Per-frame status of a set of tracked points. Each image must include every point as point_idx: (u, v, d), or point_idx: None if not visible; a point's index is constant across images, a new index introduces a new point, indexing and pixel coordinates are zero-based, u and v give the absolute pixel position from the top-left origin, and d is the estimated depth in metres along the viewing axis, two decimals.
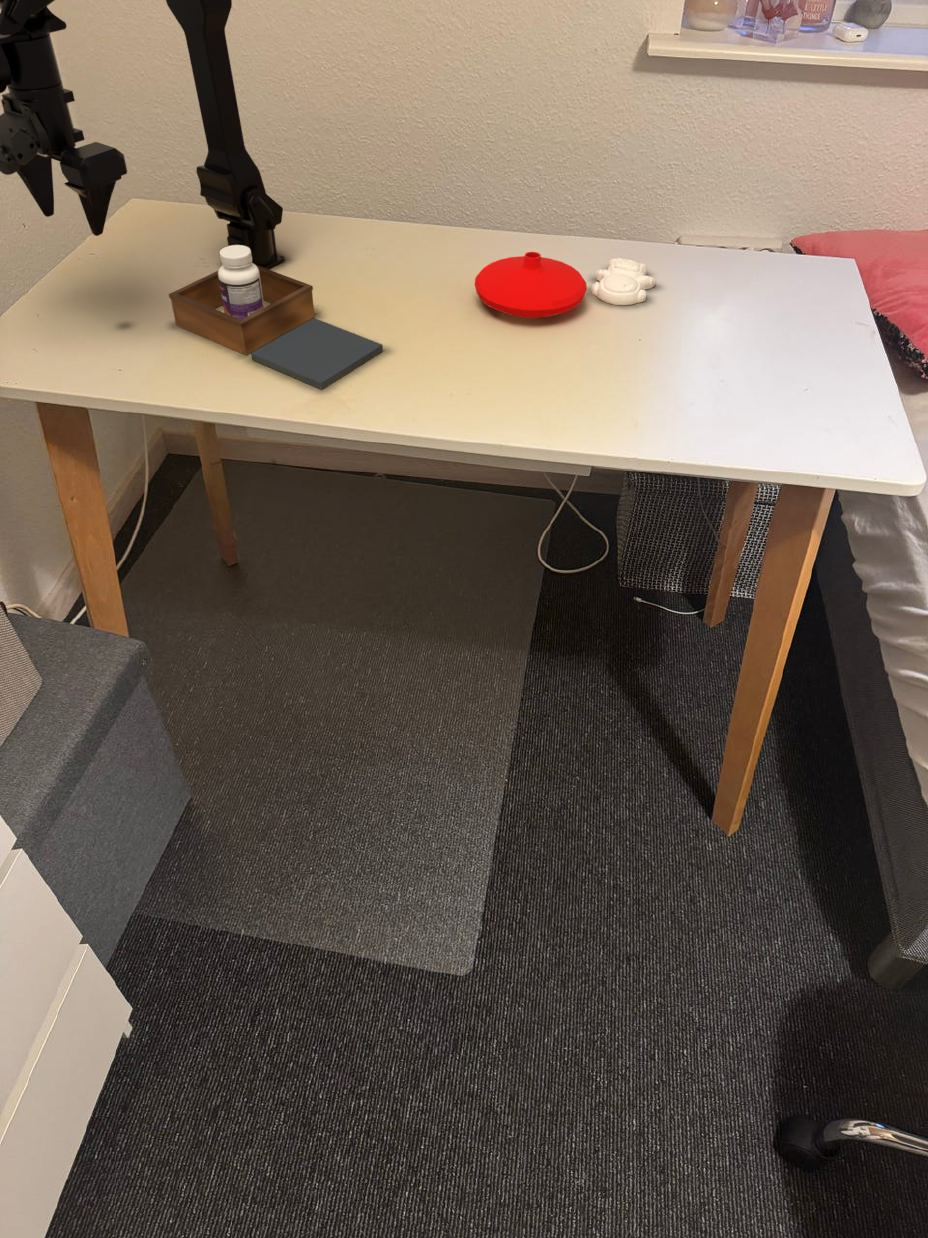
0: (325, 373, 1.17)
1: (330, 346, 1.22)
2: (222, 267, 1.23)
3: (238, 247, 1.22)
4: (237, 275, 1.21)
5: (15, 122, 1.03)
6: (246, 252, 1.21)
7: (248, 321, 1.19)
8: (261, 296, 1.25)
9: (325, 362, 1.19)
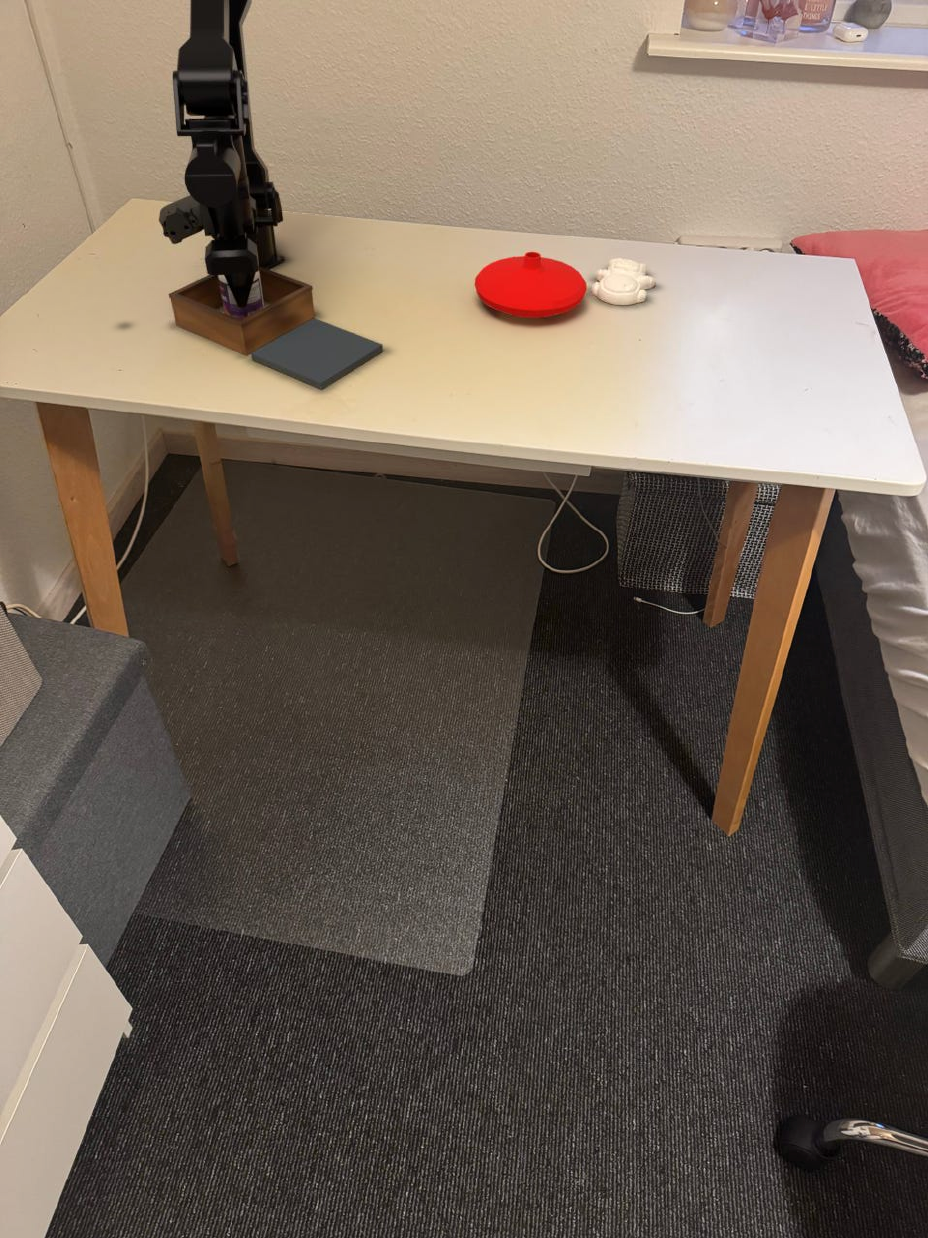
0: (325, 373, 1.17)
1: (330, 346, 1.22)
2: None
3: None
4: None
5: (192, 204, 1.16)
6: None
7: (248, 321, 1.19)
8: (261, 296, 1.25)
9: (325, 362, 1.19)
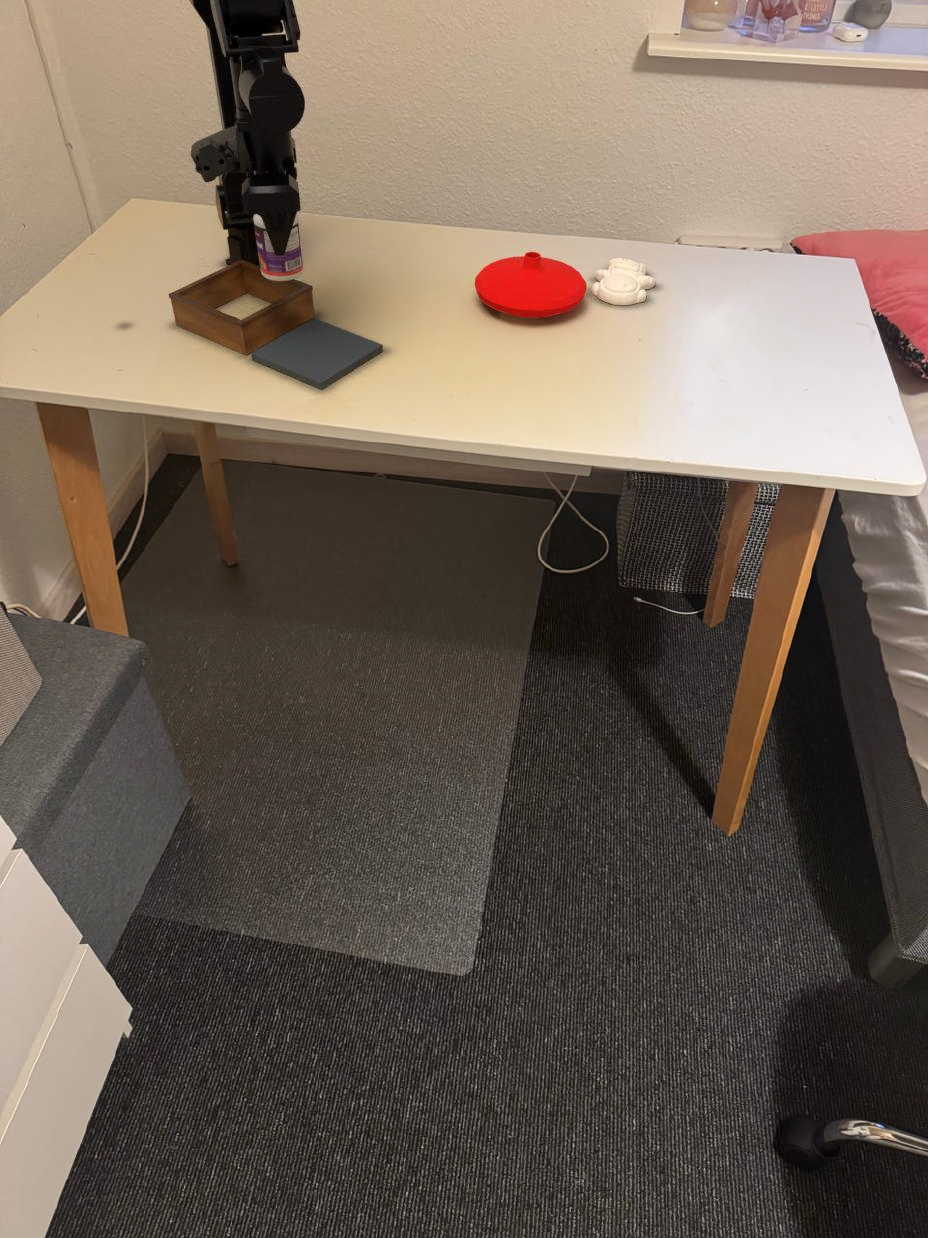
0: (325, 373, 1.17)
1: (330, 346, 1.22)
2: None
3: None
4: None
5: (227, 136, 1.05)
6: None
7: (248, 321, 1.19)
8: (300, 244, 1.14)
9: (325, 362, 1.19)
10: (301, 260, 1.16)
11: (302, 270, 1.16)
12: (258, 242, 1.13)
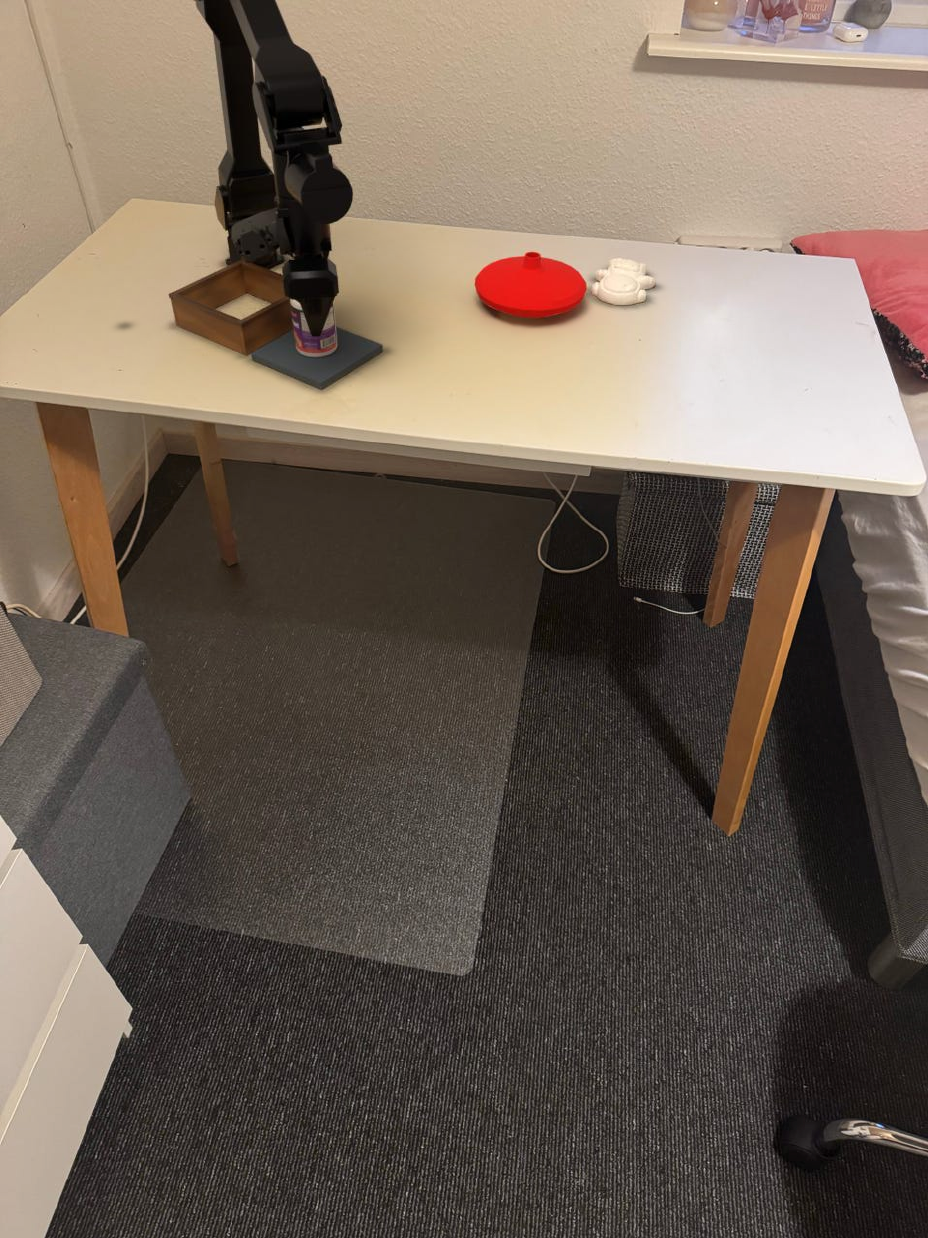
0: (325, 373, 1.17)
1: None
2: None
3: None
4: None
5: (267, 221, 1.08)
6: None
7: (248, 321, 1.19)
8: (334, 322, 1.19)
9: (325, 362, 1.19)
10: (335, 337, 1.20)
11: (335, 346, 1.21)
12: (294, 321, 1.17)
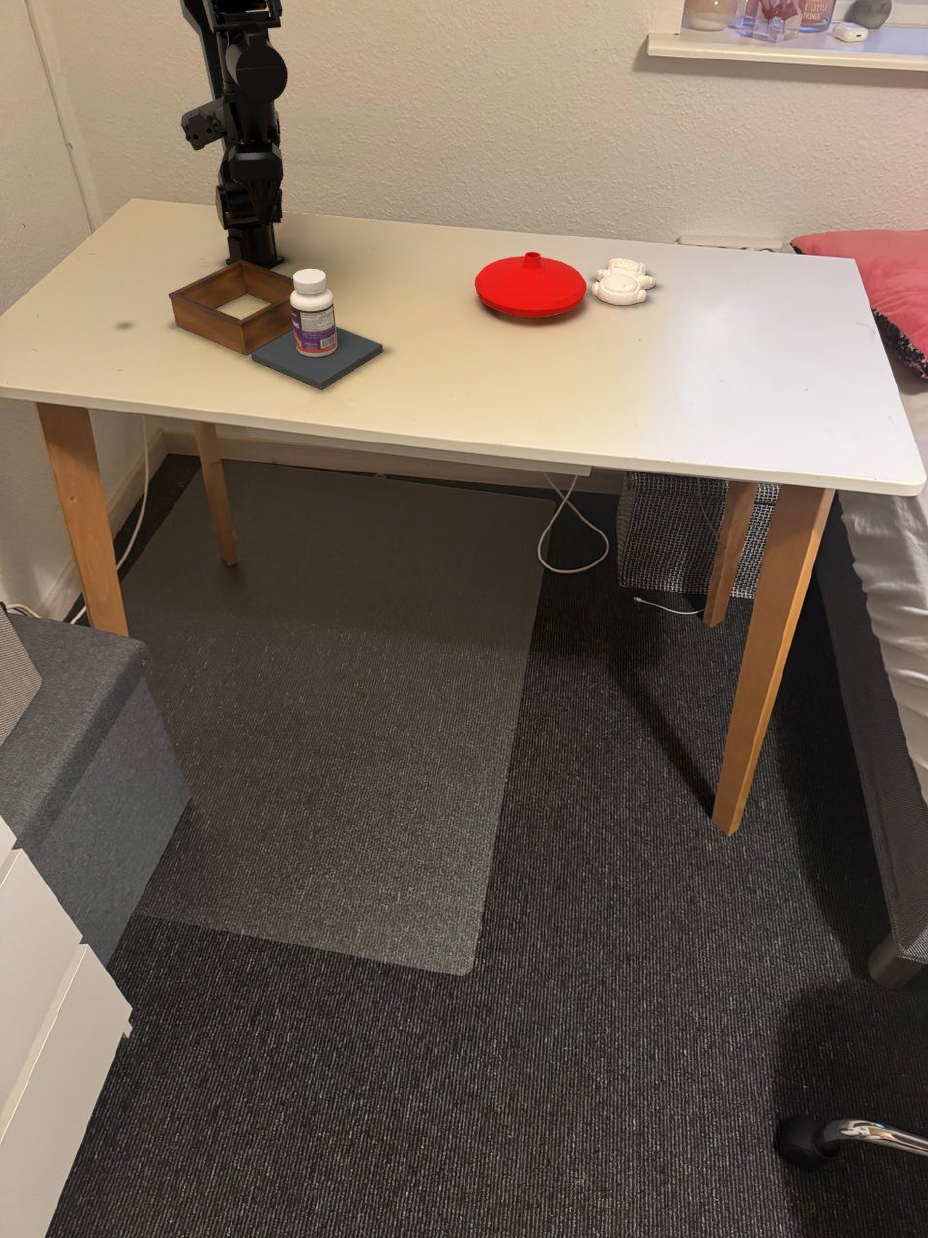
0: (325, 373, 1.17)
1: None
2: (295, 292, 1.16)
3: (312, 271, 1.15)
4: (312, 301, 1.15)
5: (214, 107, 1.12)
6: (321, 277, 1.14)
7: (248, 321, 1.19)
8: (334, 322, 1.19)
9: (325, 362, 1.19)
10: (335, 337, 1.20)
11: (335, 346, 1.21)
12: (294, 321, 1.17)
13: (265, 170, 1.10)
